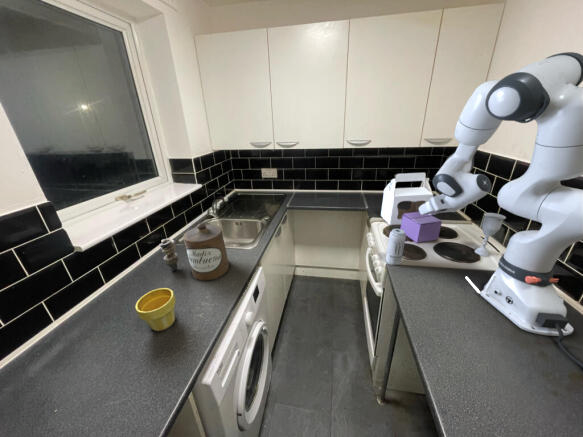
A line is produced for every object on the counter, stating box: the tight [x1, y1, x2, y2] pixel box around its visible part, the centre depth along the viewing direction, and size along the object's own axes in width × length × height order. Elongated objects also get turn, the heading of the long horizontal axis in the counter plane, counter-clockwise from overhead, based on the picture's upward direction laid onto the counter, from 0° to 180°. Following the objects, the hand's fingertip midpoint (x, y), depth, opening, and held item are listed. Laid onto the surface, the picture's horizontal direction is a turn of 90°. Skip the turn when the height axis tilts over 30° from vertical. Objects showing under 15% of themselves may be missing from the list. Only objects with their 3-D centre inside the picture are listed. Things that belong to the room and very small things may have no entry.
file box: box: [399, 212, 443, 244], centre depth 117 cm, size 13×12×10 cm
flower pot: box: [134, 287, 177, 332], centre depth 71 cm, size 10×10×10 cm
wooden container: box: [182, 222, 230, 281], centre depth 94 cm, size 15×15×22 cm
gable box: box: [380, 172, 434, 226], centre depth 132 cm, size 22×13×28 cm, turn 92°
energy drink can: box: [385, 228, 407, 266], centre depth 96 cm, size 6×6×15 cm
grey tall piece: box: [159, 238, 179, 272], centre depth 96 cm, size 6×6×15 cm
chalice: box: [474, 212, 507, 257], centre depth 99 cm, size 7×7×18 cm
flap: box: [412, 215, 443, 224], centre depth 112 cm, size 6×12×1 cm, turn 103°
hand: (431, 213), depth 111 cm, fingers closed
